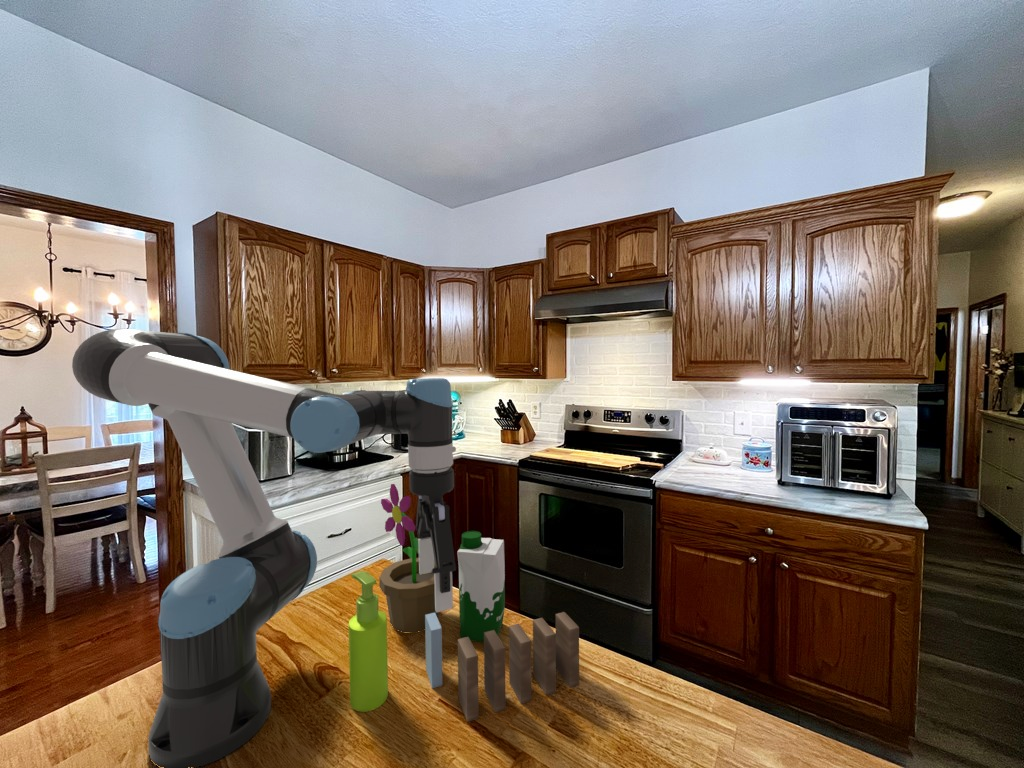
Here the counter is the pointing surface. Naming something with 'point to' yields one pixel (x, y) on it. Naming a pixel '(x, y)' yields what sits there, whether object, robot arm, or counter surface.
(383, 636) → the soap dispenser
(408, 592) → the flowerpot
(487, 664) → the domino
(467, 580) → the milk carton
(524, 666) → the domino
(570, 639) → the domino
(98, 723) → the counter surface
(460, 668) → the domino
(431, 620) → the domino
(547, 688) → the domino
